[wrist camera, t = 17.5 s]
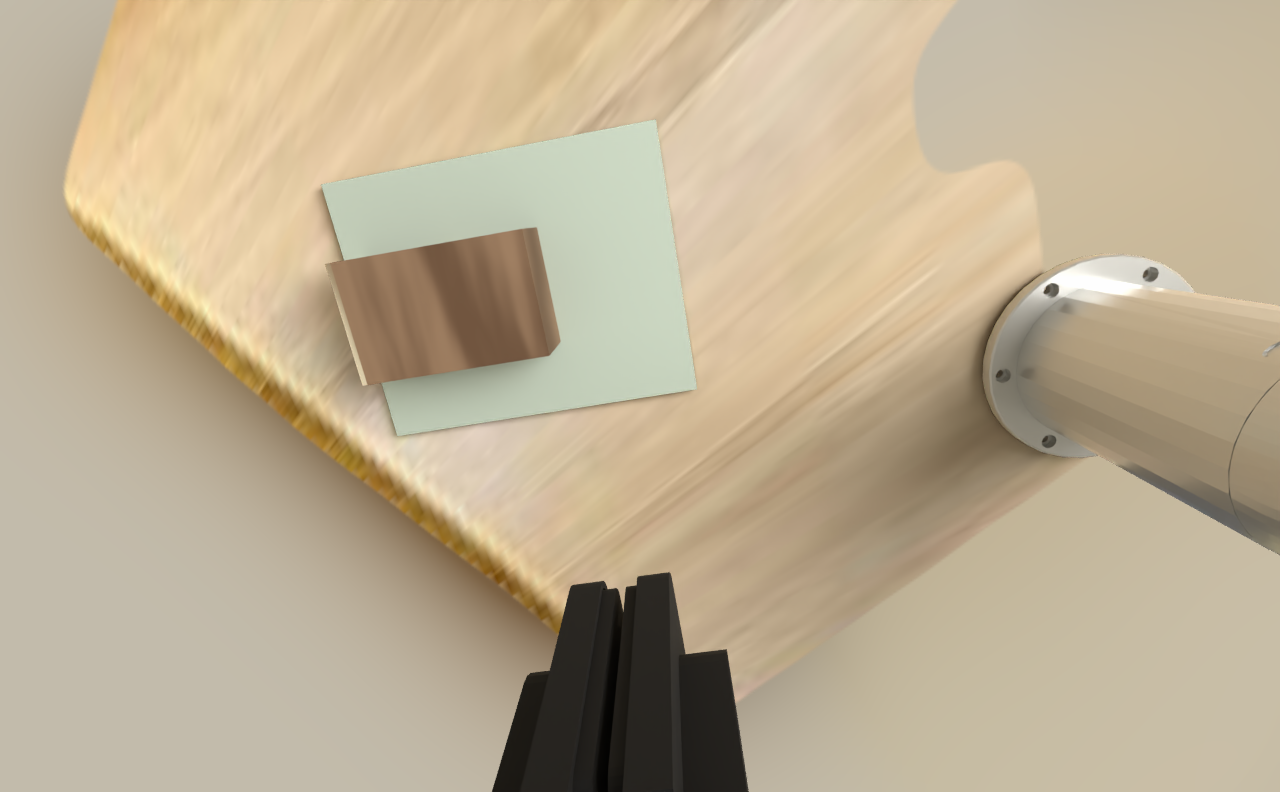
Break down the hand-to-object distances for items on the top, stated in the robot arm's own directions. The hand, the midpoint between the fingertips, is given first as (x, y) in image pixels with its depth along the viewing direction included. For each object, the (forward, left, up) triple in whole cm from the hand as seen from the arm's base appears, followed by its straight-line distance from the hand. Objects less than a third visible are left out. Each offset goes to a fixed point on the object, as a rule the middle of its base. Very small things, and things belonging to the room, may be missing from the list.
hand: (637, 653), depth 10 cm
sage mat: (+8, -4, -29) cm, 30 cm away
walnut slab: (+6, -4, -27) cm, 28 cm away
